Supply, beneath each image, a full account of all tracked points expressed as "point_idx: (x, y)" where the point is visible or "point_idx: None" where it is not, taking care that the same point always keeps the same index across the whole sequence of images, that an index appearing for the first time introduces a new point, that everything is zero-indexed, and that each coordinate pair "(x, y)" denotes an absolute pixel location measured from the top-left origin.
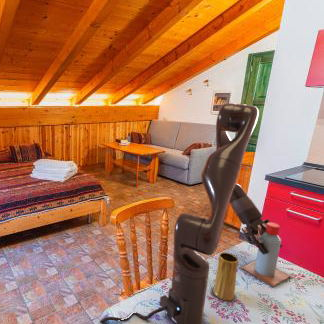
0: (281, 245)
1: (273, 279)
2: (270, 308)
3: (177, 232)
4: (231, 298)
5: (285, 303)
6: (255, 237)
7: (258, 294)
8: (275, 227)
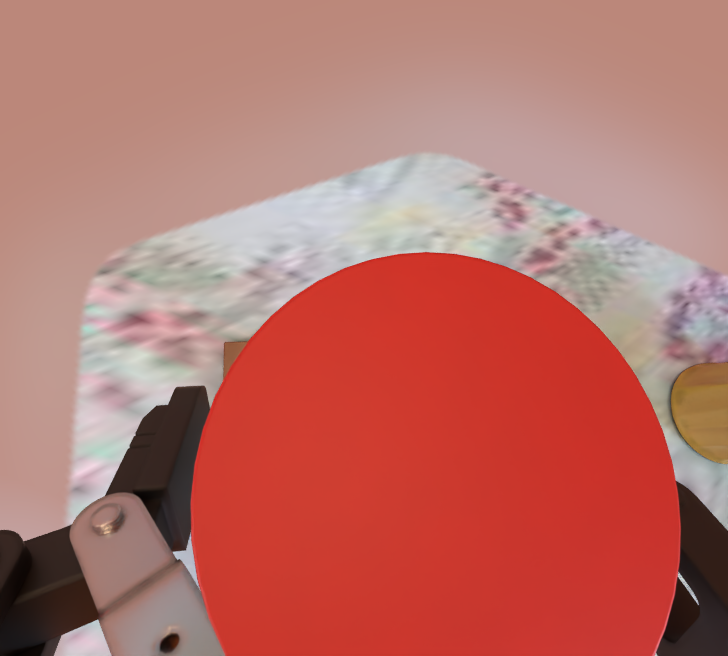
0: (187, 391)
1: None
2: (569, 260)
3: None
4: (716, 363)
5: (475, 247)
6: (682, 544)
7: None
8: (555, 309)
